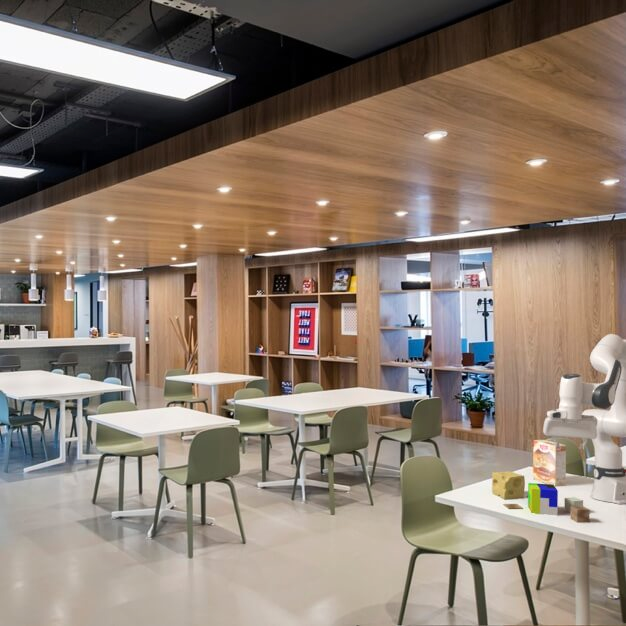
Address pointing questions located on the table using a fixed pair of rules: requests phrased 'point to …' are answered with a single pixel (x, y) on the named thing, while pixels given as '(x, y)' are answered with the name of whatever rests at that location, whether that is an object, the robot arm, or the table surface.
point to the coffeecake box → (549, 462)
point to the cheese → (508, 485)
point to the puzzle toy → (543, 499)
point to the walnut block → (579, 514)
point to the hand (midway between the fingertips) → (569, 448)
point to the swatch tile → (512, 506)
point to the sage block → (572, 503)
